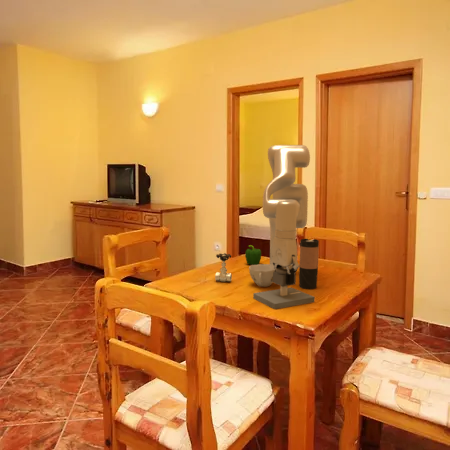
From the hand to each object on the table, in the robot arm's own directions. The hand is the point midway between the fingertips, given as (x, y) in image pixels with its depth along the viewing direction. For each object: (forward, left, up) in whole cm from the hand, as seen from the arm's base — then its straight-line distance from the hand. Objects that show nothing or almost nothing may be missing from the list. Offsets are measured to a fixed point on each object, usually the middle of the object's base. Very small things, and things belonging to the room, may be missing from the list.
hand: (284, 281), depth 154 cm
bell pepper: (-22, -56, -7) cm, 61 cm away
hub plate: (0, 0, -7) cm, 7 cm away
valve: (+8, -33, -7) cm, 35 cm away
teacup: (-4, -20, -7) cm, 22 cm away
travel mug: (-20, -10, -7) cm, 24 cm away
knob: (0, 0, -1) cm, 1 cm away
